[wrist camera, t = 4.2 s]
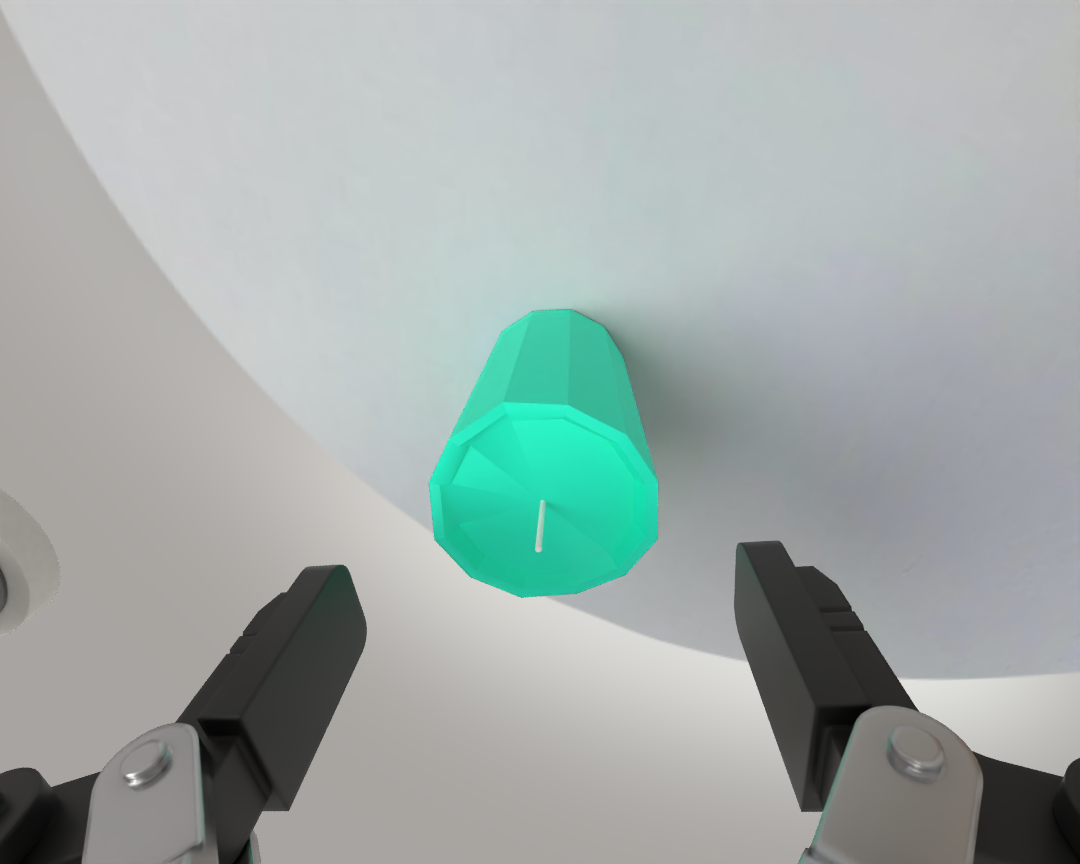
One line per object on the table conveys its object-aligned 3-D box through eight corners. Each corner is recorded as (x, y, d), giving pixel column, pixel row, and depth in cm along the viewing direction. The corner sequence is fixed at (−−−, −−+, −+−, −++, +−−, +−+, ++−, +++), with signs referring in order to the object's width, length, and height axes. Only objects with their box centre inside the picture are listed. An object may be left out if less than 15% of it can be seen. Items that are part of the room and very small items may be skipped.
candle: (642, 324, 22) (709, 463, 11) (605, 451, 24) (630, 665, 14) (498, 293, 22) (421, 403, 11) (477, 425, 24) (397, 621, 13)
